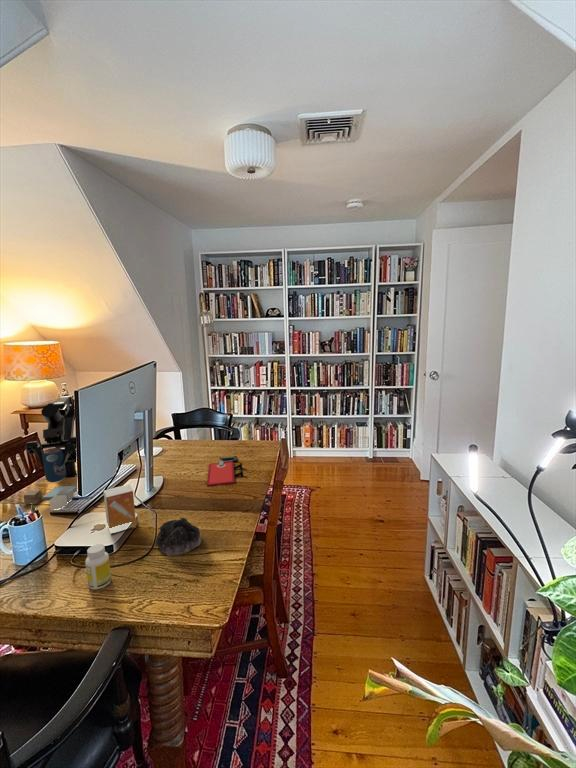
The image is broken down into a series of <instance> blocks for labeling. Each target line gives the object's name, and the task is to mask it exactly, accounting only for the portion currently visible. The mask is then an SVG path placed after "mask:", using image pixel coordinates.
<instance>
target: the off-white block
mask: <svg viewBox="0 0 576 768" xmlns="http://www.w3.org/2000/svg"><path fill="white" fill-rule="evenodd" d="M48 502H49V507H50V508H49V509H50V511H51V510H54V509H58V508H62V507H63V506H65V505H66V504H67V496H66V495H56V496H54V497H53V498H52V499H48ZM54 511H55V510H54Z"/></svg>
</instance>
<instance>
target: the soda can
mask: <svg viewBox="0 0 576 768" xmlns="http://www.w3.org/2000/svg"><path fill="white" fill-rule="evenodd" d="M43 452H44V454H43V456H42V458H43V464H44V467H43V470H44V477H45V480H46V481H47V482H48V483H57V482H61V481H63V480H64V479H66V478H65V476H66V468H65V464H64V463H63V457H64V454H63V452H62V451H61V448H56V447H52V448H47V449H44V450H43Z"/></svg>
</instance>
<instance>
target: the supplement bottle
mask: <svg viewBox="0 0 576 768" xmlns="http://www.w3.org/2000/svg"><path fill="white" fill-rule="evenodd" d="M86 553H87V554H86V555H87V557H86V559H85V562H84V564H85V571H86V577H87V578H86V579H87V585H88V588H89V589H91V590H101V589H103V588H105V587H107V586H108V585H109V584H110V583H111V582H112V581H111V580H112V572H111V571H112V569H111V563H110V557H109V556H110V555H109V553H108V552H107V551H106V548H105V544H102V543H95V544H94V545H92V546H89V547H88V549H87V550H86Z"/></svg>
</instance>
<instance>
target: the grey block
mask: <svg viewBox="0 0 576 768" xmlns="http://www.w3.org/2000/svg"><path fill="white" fill-rule="evenodd" d="M74 493H75V492H73V489H64V490H61V491H60V492H59V493H58V494H57V495H66V496H67V502H69V501H70V500H71V499H72V498H73V497H74V498H75V495H74Z"/></svg>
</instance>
